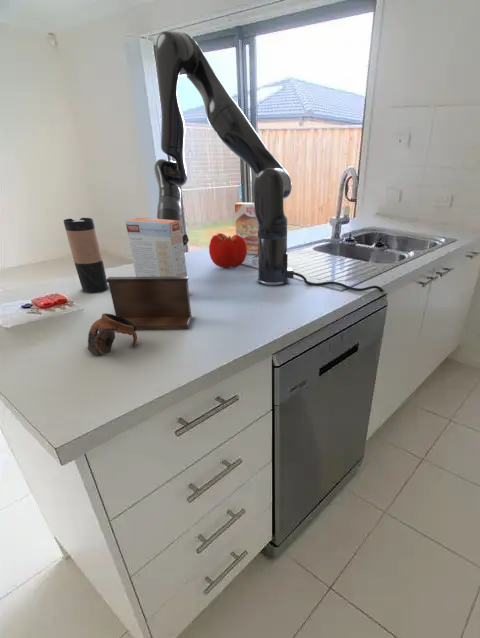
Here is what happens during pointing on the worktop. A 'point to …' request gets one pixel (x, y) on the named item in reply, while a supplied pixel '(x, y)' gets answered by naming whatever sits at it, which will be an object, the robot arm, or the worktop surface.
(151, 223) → the cracker box
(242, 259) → the tomato
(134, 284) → the walnut backstop
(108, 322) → the brown arched piece
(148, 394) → the worktop surface
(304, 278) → the robot arm
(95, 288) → the travel mug
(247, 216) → the coffeecake box
